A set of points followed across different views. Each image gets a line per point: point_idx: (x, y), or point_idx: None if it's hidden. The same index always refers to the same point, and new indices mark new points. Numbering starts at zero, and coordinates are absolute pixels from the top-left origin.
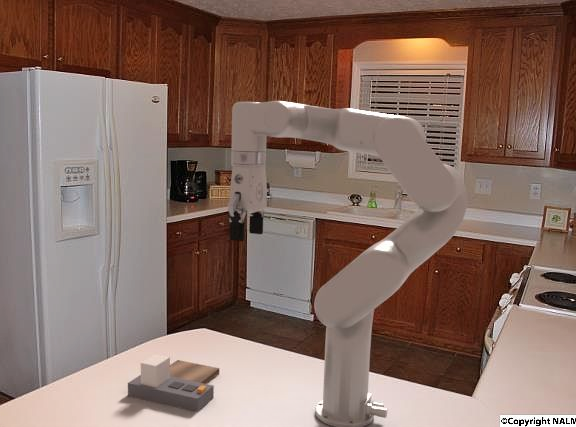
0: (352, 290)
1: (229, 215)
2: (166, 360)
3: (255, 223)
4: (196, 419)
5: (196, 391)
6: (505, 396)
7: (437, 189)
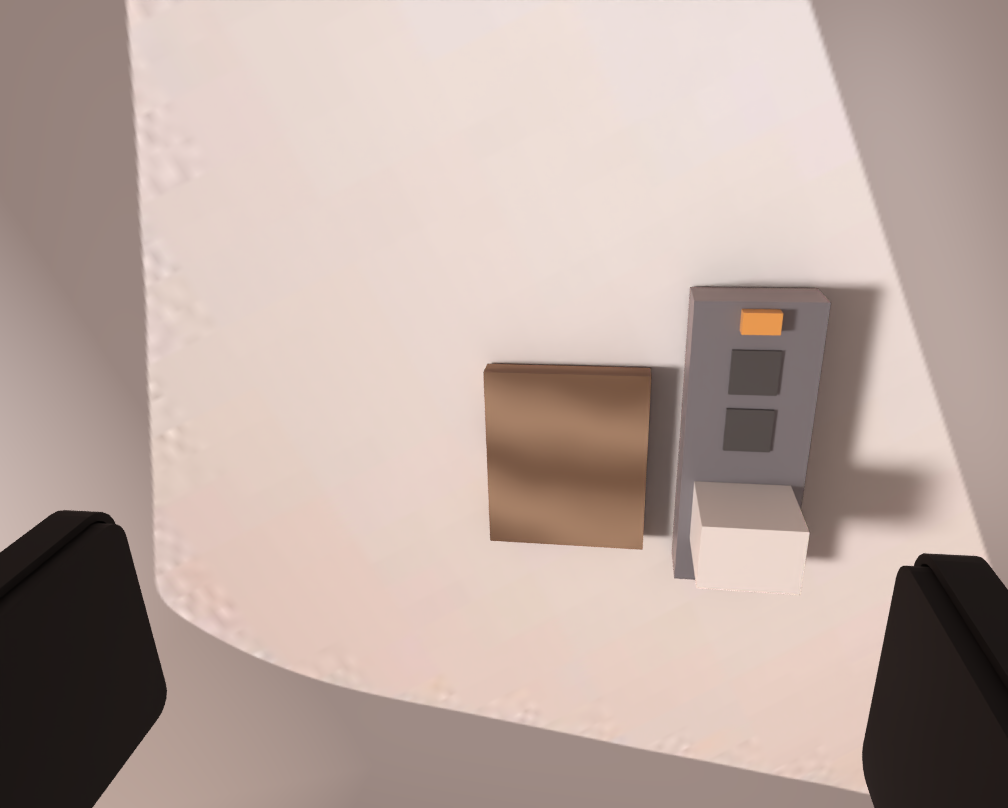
0: None
1: None
2: (727, 525)
3: (15, 758)
4: (867, 265)
5: (770, 337)
6: None
7: None
